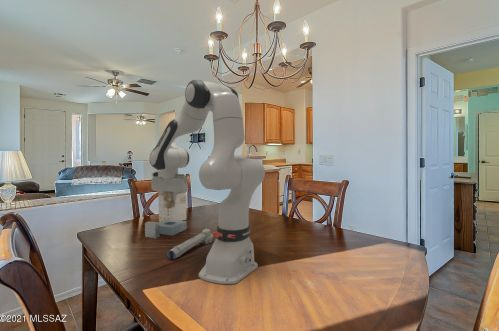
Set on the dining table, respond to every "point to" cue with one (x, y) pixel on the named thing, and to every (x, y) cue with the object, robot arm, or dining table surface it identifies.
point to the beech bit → (168, 200)
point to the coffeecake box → (175, 212)
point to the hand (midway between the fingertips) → (169, 200)
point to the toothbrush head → (190, 244)
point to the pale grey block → (152, 229)
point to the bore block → (172, 227)
